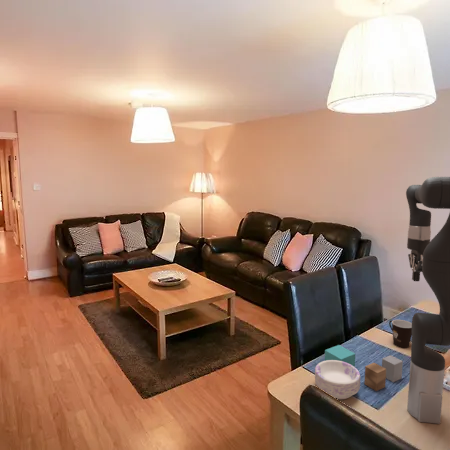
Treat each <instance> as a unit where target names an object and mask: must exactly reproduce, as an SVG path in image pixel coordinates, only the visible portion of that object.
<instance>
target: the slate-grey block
mask: <svg viewBox="0 0 450 450" xmlns="http://www.w3.org/2000/svg"><path fill="white" fill-rule="evenodd" d="M381 360H382V361H381V366H382V367H384V368H385V369H386V380H388V381H391V382H392V383H396V382H398V381H400V380H401V379H402V377H403V363H404V360H401V359H399V358H398V357H395V356H393V355H391V354H390V355H388V356H385V357H383V358H382V359H381Z"/></svg>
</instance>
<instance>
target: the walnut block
mask: <svg viewBox="0 0 450 450" xmlns="http://www.w3.org/2000/svg"><path fill="white" fill-rule="evenodd" d="M386 380H387V379H386V369H385V368H384V367H382V365H380V364H378V363H376V362H372V363H369V364H367V365H365V367H364V382H363V383H364V385H366V386H367V387H368V388H370V389H371V390H373V391H375V392H378V391H380V390H382V389H384V388H385V387H386Z"/></svg>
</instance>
